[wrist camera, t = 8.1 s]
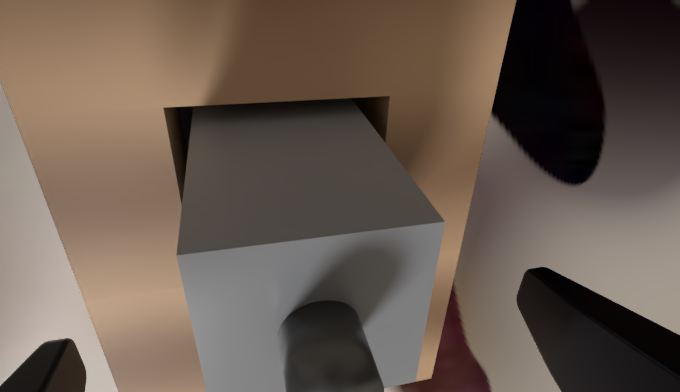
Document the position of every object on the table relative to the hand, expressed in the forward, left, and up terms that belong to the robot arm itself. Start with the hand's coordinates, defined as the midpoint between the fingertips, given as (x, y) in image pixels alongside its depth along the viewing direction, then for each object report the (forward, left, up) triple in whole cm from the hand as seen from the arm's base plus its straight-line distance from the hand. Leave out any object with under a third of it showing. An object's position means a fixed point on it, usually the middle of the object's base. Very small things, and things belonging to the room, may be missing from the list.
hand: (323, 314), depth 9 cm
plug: (0, 0, -8) cm, 8 cm away
